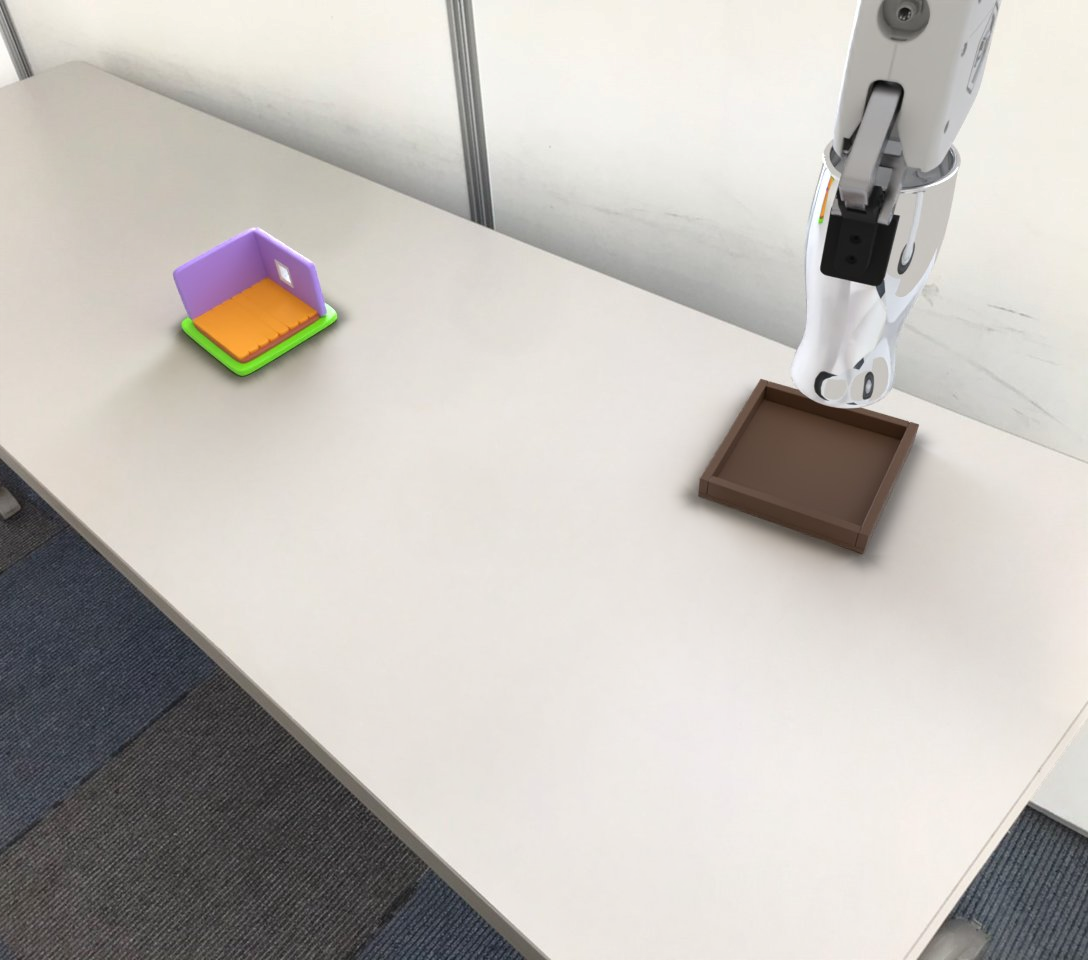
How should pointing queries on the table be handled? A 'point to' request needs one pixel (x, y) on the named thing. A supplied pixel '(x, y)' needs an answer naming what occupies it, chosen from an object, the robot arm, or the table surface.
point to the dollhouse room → (251, 300)
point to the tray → (809, 464)
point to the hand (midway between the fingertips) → (873, 236)
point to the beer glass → (868, 287)
